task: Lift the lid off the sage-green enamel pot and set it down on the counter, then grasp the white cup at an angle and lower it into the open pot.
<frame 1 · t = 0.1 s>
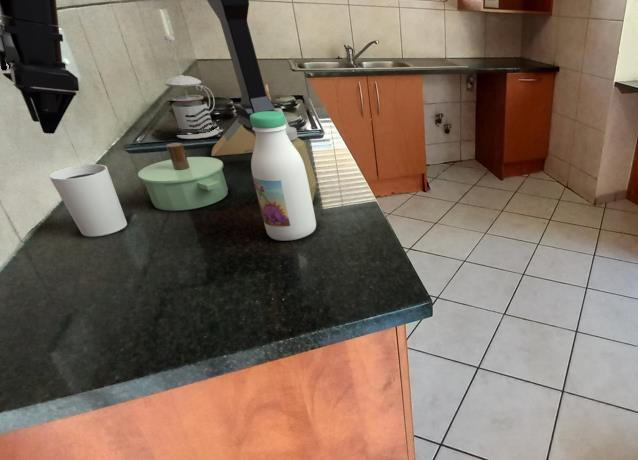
hand: (43, 127, 67), 15 cm above the counter, tool pointing down, fingers open, 9 cm apart
french press: (201, 133, 119), on the counter
pot: (191, 197, 83), on the counter
squeeze bottle: (297, 203, 83), on the counter
sandwich container: (247, 148, 109), on the counter
white cup: (105, 229, 71), on the counter
milk bottle: (292, 231, 73), on the counter
lid: (182, 170, 80), point 5 cm above the counter, touching pot
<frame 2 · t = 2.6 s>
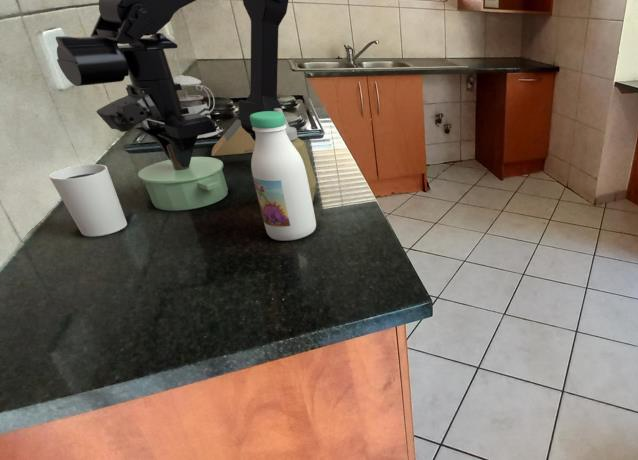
hand: (181, 165, 79), 7 cm above the counter, tool pointing down, fingers closed on lid, 2 cm apart
lid: (182, 170, 80), point 5 cm above the counter, touching gripper, pot
everything else where it was.
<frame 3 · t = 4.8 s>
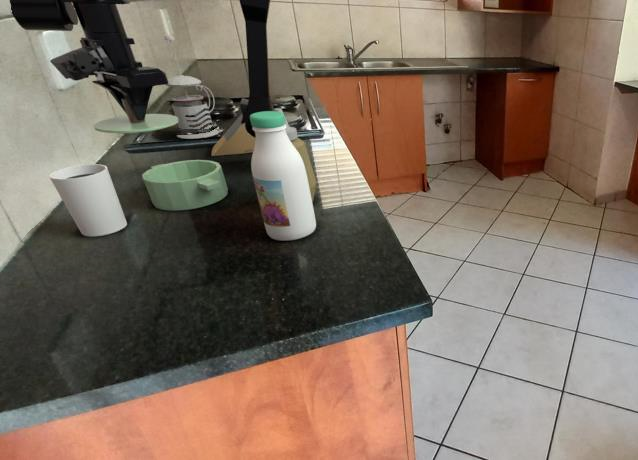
hand: (137, 118, 83), 13 cm above the counter, tool pointing down, fingers closed on lid, 2 cm apart
lid: (138, 124, 84), point 12 cm above the counter, touching gripper
everything else where it was.
when the fingers open (2 cm above the counter, at t = 7.1 s): lid stays where it is, point 1 cm above the counter.
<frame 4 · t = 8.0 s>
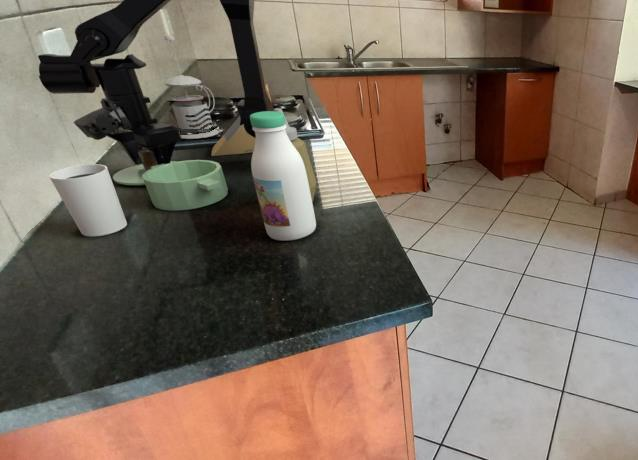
hand: (151, 168, 90), 2 cm above the counter, tool pointing down, fingers open, 9 cm apart
lid: (153, 173, 90), point 1 cm above the counter
everything else where it was.
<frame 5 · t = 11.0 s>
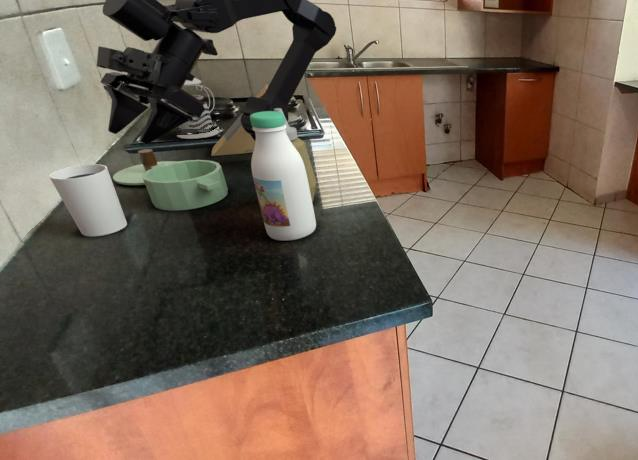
hand: (127, 137, 71), 13 cm above the counter, tool tilted 45°, fingers open, 9 cm apart
nothing on the counter moved.
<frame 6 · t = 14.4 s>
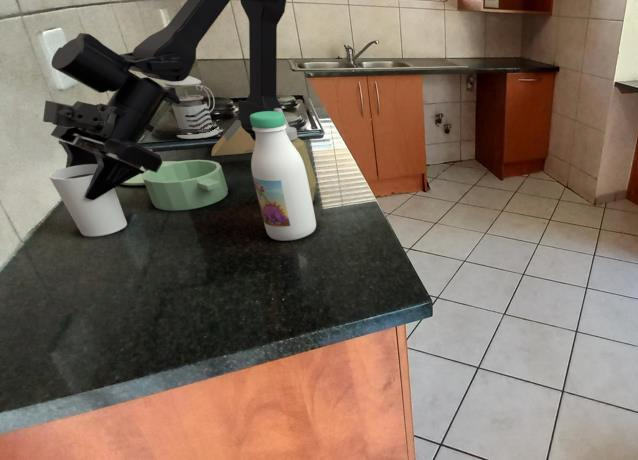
hand: (77, 194, 66), 7 cm above the counter, tool tilted 45°, fingers closed on white cup, 6 cm apart
white cup: (105, 229, 71), on the counter, touching gripper
everything else where it was.
when the fingers open (7 cm above the counter, at t = 20.0 s): white cup stays where it is, resting on pot.
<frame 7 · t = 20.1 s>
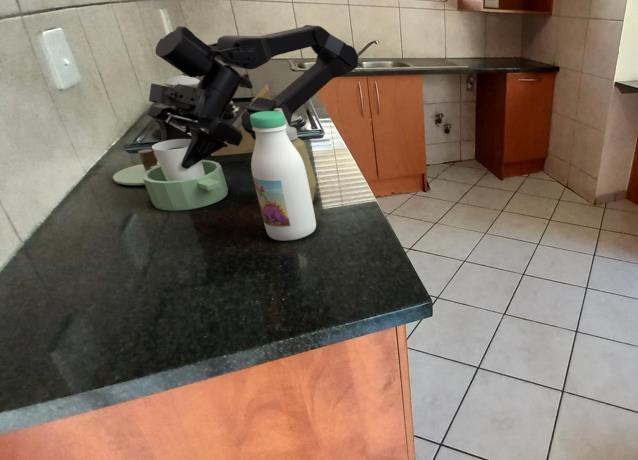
hand: (172, 164, 78), 7 cm above the counter, tool tilted 45°, fingers open, 6 cm apart
white cup: (192, 195, 83), resting on pot
everything else where it was.
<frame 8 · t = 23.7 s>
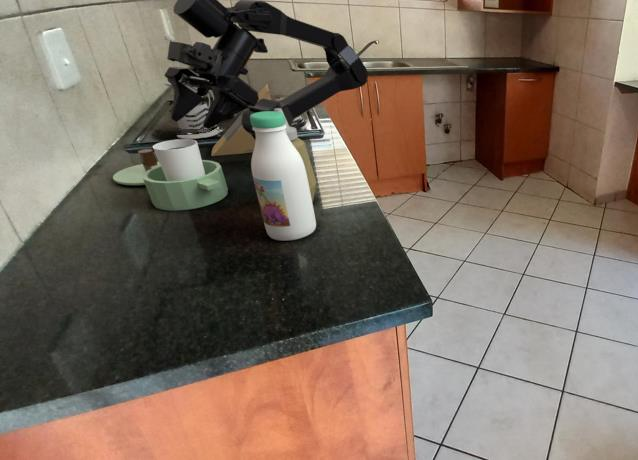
hand: (189, 123, 79), 14 cm above the counter, tool tilted 45°, fingers open, 9 cm apart
nothing on the counter moved.
at the end: lid inside the target area (0.1 cm from its centre), point 0.6 cm above the counter; white cup 0.2 cm off-centre in the pot, point 0.3 cm above the pot's base; white cup tilted 0° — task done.
